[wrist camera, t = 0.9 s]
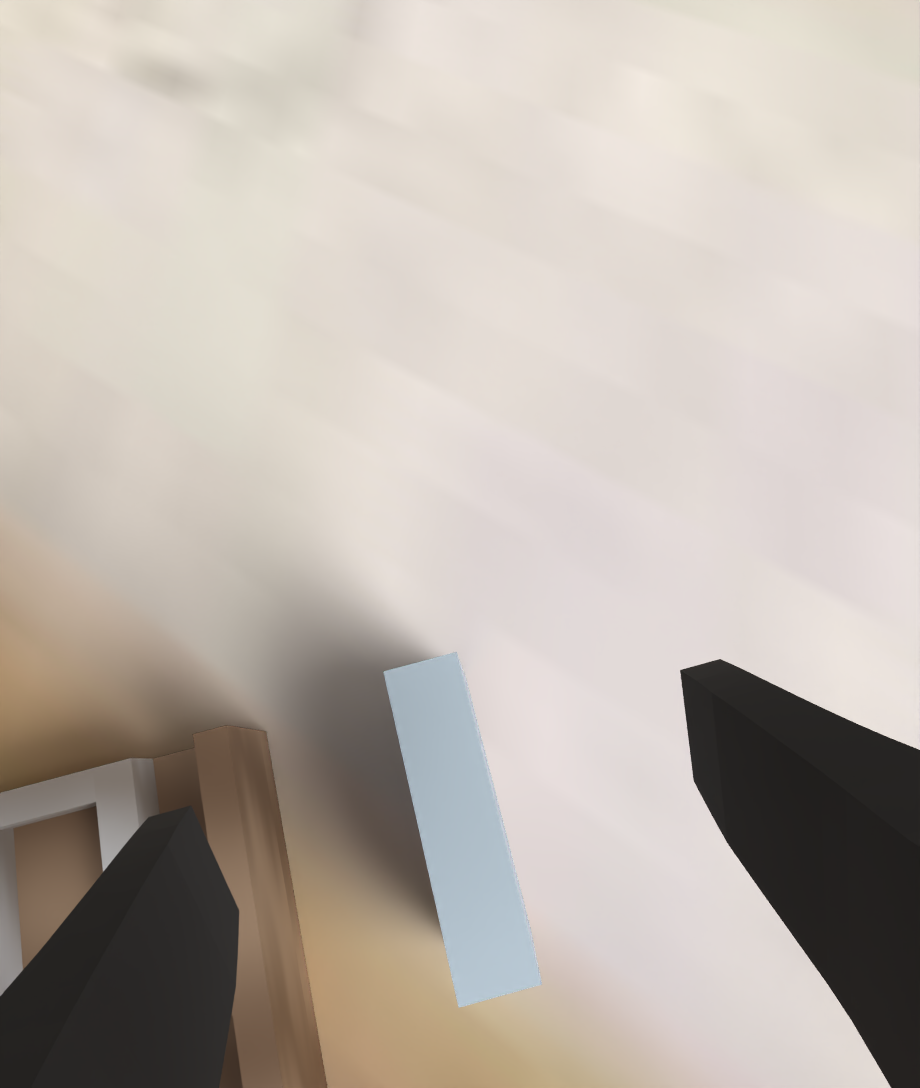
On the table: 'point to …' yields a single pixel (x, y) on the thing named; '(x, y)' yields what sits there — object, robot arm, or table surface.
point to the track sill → (240, 850)
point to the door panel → (462, 831)
